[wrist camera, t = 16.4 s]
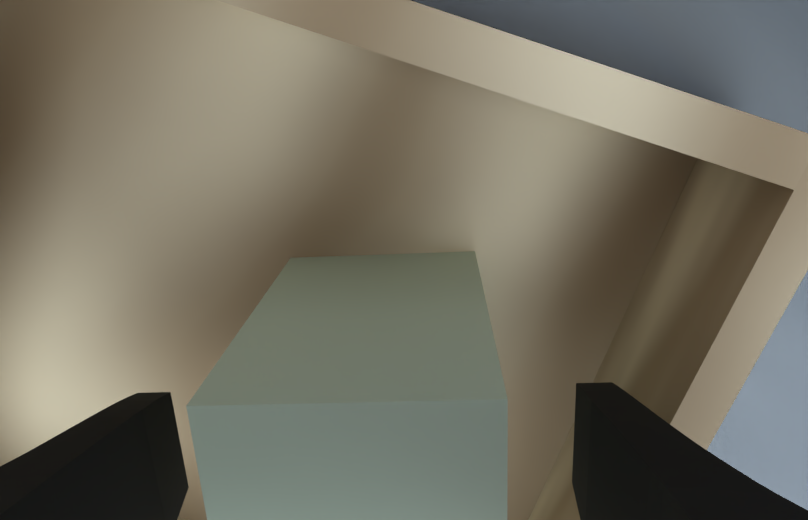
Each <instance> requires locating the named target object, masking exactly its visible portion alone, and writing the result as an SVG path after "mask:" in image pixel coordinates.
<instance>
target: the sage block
mask: <svg viewBox="0 0 808 520" xmlns="http://www.w3.org/2000/svg"><path fill="white" fill-rule="evenodd" d="M186 408H187V413H188V419H189V424H190V430H191V435H192V440H193V446H194V451H195V457H196V462H197V468H198V473H199V478H200V484H201V489H202V495H203V500H204V506H205V511H206V516H207V520H507V461H508V399H507V394H506V390H505V385H504V381H503V376H502V372H501V367H500V362H499V358H498V353H497V349H496V344H495V340H494V335H493V331H492V326H491V322H490V317H489V313H488V308H487V304H486V299H485V295H484V290H483V286H482V281H481V277H480V272H479V268H478V263H477V259H476V254H475V251H468V252H439V253H411V254H382V255H354V256H325V257H297V258H290V259H289V261H288V262H287V264H286V265H285V267H284V268H283V269H282V271H281V272H280V274H279V275H278V277H277V278H276V279H275V281H274V282H273V284H272V285H271V286H270V288H269V289H268V291H267V292H266V294H265V295H264V296H263V298H262V299H261V301H260V302H259V304H258V305H257V306H256V308H255V309H254V311H253V312H252V313H251V315H250V316H249V318H248V319H247V321H246V322H245V323H244V325H243V326H242V328H241V329H240V330H239V332H238V333H237V335H236V336H235V338H234V339H233V340H232V342H231V343H230V345H229V346H228V348H227V349H226V350H225V352H224V353H223V355H222V356H221V357H220V359H219V360H218V362H217V363H216V365H215V366H214V367H213V369H212V370H211V372H210V373H209V374H208V376H207V377H206V379H205V380H204V382H203V383H202V384H201V386H200V387H199V389H198V390H197V392H196V393H195V394H194V396H193V397H192V399H191V400H190V401H189V403H188V404H187V406H186Z"/></svg>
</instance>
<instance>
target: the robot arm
mask: <svg viewBox="0 0 808 520" xmlns="http://www.w3.org/2000/svg"><path fill="white" fill-rule="evenodd" d="M572 485H573V489H574V494H575V498H576V503H577V507H578V511H579V516H580V520H808V511H807V510H806V509H804V508H802V507H800V506H798V505H796V504H794V503H793V502H791V501H789V500H787V499H785V498H783V497H782V496H780V495H778V494H776V493H774V492H773V491H771V490H769V489H767V488H766V487H764V486H762V485H760V484H759V483H757V482H755V481H754V480H752V479H751V478H749V477H747V476H746V475H744V474H743V473H741V472H739V471H738V470H736V469H735V468H733V467H732V466H730V465H728V464H727V463H725V462H724V461H722V460H720V459H719V458H717V457H716V456H714V455H713V454H711V453H710V452H708V451H707V450H706V449H704V448H703V447H701V446H700V445H698V444H697V443H695V442H694V441H692V440H691V439H690V438H688V437H687V436H685V435H684V434H683V433H681V432H680V431H678V430H677V429H676V428H674V427H673V426H671V425H670V424H669V423H667V422H666V421H665V420H663V419H662V418H661V417H659V416H658V415H657V414H655V413H654V412H652V411H651V410H650V409H648V408H647V407H646V406H644V405H643V404H642V403H640V402H639V401H638V400H636V399H635V398H634V397H632V396H631V395H630V394H628V393H627V392H626V391H624V390H623V389H621V388H620V387H619V386H617V385H615V384H614V383H612V382H603V383H576V399H575V422H574V446H573V469H572ZM188 488H189V486H188V481H187V476H186V470H185V465H184V460H183V455H182V449H181V444H180V439H179V434H178V428H177V423H176V418H175V413H174V407H173V402H172V397H171V392H150V393H136V394H134V395H131V396H129V397H127V398H125V399H123V400H120V401H118V402H117V403H115V404H113V405H111V406H109V407H107V408H105V409H103V410H101V411H100V412H98V413H96V414H94V415H92V416H91V417H89V418H87V419H85V420H83V421H82V422H80V423H78V424H76V425H75V426H73V427H71V428H69V429H68V430H66V431H64V432H62V433H60V434H59V435H57V436H55V437H53V438H52V439H50V440H48V441H46V442H45V443H43V444H41V445H39V446H37V447H36V448H34V449H32V450H30V451H28V452H27V453H25V454H23V455H21V456H19V457H17V458H15V459H13V460H11V461H10V462H8V463H6V464H4V465H2V466H0V520H177V519H178V516H179V513H180V511H181V508H182V505H183V502H184V499H185V496H186V494H187V491H188Z"/></svg>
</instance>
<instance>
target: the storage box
mask: <svg viewBox="0 0 808 520" xmlns="http://www.w3.org/2000/svg"><path fill="white" fill-rule="evenodd" d="M468 251H475V254H476V259H477V263H478V268H479V272H480V277H481V281H482V286H483V290H484V295H485V299H486V304H487V308H488V313H489V317H490V322H491V326H492V331H493V335H494V340H495V344H496V349H497V353H498V358H499V362H500V367H501V372H502V376H503V381H504V385H505V390H506V394H507V399H508V461H507V520H580V516H579V511H578V507H577V503H576V498H575V494H574V489H573V485H572V469H573V446H574V422H575V399H576V383H603V382H612V383H614V384H615V385H617V386H619V387H620V388H621V389H623V390H624V391H626V392H627V393H628V394H630V395H631V396H632V397H634V398H635V399H636V400H638V401H639V402H640V403H642V404H643V405H644V406H646V407H647V408H648V409H650V410H651V411H652V412H654V413H655V414H657V415H658V416H659V417H661V418H662V419H663V420H665V421H666V422H667V423H669V424H670V425H671V426H673V427H674V428H676V429H677V430H678V431H680V432H681V433H683V434H684V435H685V436H687V437H688V438H690V439H691V440H692V441H694V442H695V443H697V444H698V445H700V446H701V447H703V448H704V449H706V450H707V449H708V447H709V445H710V443H711V441H712V440H713V438H714V436H715V434H716V433H717V431H718V429H719V427H720V425H721V424H722V422H723V420H724V418H725V416H726V415H727V413H728V411H729V409H730V408H731V406H732V404H733V402H734V400H735V399H736V397H737V395H738V393H739V392H740V390H741V388H742V386H743V384H744V383H745V381H746V379H747V377H748V375H749V374H750V372H751V370H752V368H753V367H754V365H755V363H756V361H757V359H758V358H759V356H760V354H761V352H762V351H763V349H764V347H765V345H766V343H767V342H768V340H769V338H770V336H771V334H772V333H773V331H774V329H775V327H776V326H777V324H778V322H779V320H780V318H781V317H782V315H783V313H784V311H785V310H786V308H787V306H788V304H789V302H790V301H791V299H792V297H793V295H794V293H795V292H796V290H797V288H798V286H799V285H800V283H801V281H802V279H803V277H804V276H805V274H806V272H807V270H808V133H805V132H802V131H799V130H796V129H793V128H791V127H788V126H785V125H782V124H779V123H776V122H773V121H770V120H767V119H764V118H761V117H758V116H755V115H752V114H749V113H746V112H743V111H740V110H737V109H734V108H731V107H728V106H725V105H722V104H719V103H716V102H713V101H710V100H707V99H704V98H701V97H698V96H695V95H692V94H689V93H686V92H683V91H680V90H677V89H674V88H671V87H668V86H665V85H662V84H659V83H656V82H653V81H650V80H647V79H644V78H641V77H638V76H635V75H632V74H629V73H626V72H623V71H620V70H617V69H614V68H611V67H608V66H605V65H602V64H599V63H596V62H593V61H590V60H587V59H584V58H581V57H578V56H575V55H572V54H569V53H566V52H563V51H560V50H557V49H554V48H551V47H548V46H546V45H543V44H540V43H537V42H534V41H531V40H528V39H525V38H522V37H519V36H516V35H513V34H510V33H507V32H504V31H501V30H498V29H495V28H492V27H489V26H486V25H483V24H480V23H477V22H474V21H471V20H468V19H465V18H462V17H459V16H456V15H453V14H450V13H447V12H444V11H441V10H438V9H435V8H432V7H429V6H426V5H423V4H420V3H417V2H414V1H411V0H0V466H2V465H4V464H6V463H8V462H10V461H11V460H13V459H15V458H17V457H19V456H21V455H23V454H25V453H27V452H28V451H30V450H32V449H34V448H36V447H37V446H39V445H41V444H43V443H45V442H46V441H48V440H50V439H52V438H53V437H55V436H57V435H59V434H60V433H62V432H64V431H66V430H68V429H69V428H71V427H73V426H75V425H76V424H78V423H80V422H82V421H83V420H85V419H87V418H89V417H91V416H92V415H94V414H96V413H98V412H100V411H101V410H103V409H105V408H107V407H109V406H111V405H113V404H115V403H117V402H118V401H120V400H123V399H125V398H127V397H129V396H131V395H134V394H136V393H150V392H171V397H172V402H173V407H174V413H175V418H176V423H177V428H178V434H179V439H180V444H181V449H182V455H183V460H184V465H185V470H186V476H187V481H188V486H189V488H188V491H187V494H186V496H185V499H184V502H183V505H182V508H181V511H180V513H179V516H178V519H177V520H207V516H206V511H205V506H204V500H203V495H202V489H201V484H200V478H199V473H198V468H197V462H196V457H195V451H194V446H193V440H192V435H191V430H190V424H189V419H188V413H187V408H186V406H187V404H188V403H189V401H190V400H191V399H192V397H193V396H194V394H195V393H196V392H197V390H198V389H199V387H200V386H201V384H202V383H203V382H204V380H205V379H206V377H207V376H208V374H209V373H210V372H211V370H212V369H213V367H214V366H215V365H216V363H217V362H218V360H219V359H220V357H221V356H222V355H223V353H224V352H225V350H226V349H227V348H228V346H229V345H230V343H231V342H232V340H233V339H234V338H235V336H236V335H237V333H238V332H239V330H240V329H241V328H242V326H243V325H244V323H245V322H246V321H247V319H248V318H249V316H250V315H251V313H252V312H253V311H254V309H255V308H256V306H257V305H258V304H259V302H260V301H261V299H262V298H263V296H264V295H265V294H266V292H267V291H268V289H269V288H270V286H271V285H272V284H273V282H274V281H275V279H276V278H277V277H278V275H279V274H280V272H281V271H282V269H283V268H284V267H285V265H286V264H287V262H288V261H289V259H290V258H297V257H325V256H354V255H382V254H411V253H439V252H468Z"/></svg>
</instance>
